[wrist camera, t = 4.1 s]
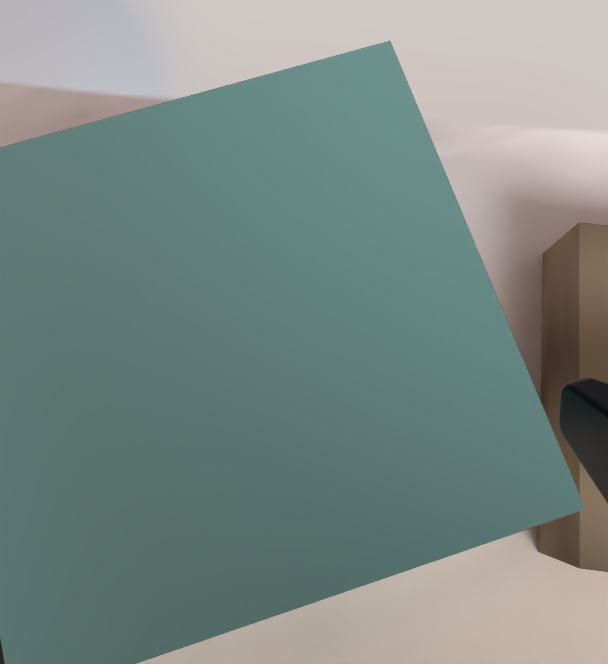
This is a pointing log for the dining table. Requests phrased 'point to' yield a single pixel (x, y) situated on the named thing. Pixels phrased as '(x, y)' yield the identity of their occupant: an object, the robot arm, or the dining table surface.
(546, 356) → the slab
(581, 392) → the robot arm
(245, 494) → the pillar
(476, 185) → the dining table surface
